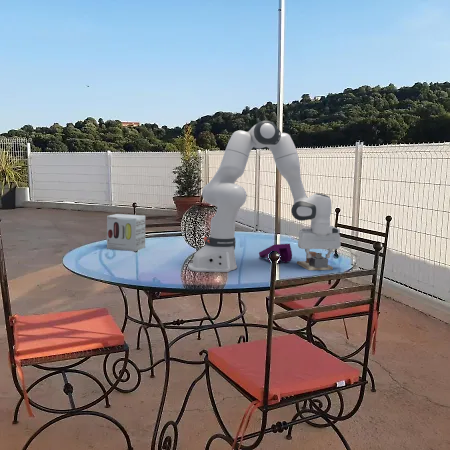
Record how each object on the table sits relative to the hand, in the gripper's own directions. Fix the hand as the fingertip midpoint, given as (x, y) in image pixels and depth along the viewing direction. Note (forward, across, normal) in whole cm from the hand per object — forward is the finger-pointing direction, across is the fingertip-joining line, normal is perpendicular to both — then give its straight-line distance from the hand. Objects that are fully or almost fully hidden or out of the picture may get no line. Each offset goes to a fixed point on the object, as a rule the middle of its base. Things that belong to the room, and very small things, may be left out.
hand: (318, 258), depth 213 cm
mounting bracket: (+6, -15, +21) cm, 26 cm away
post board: (+5, 0, +4) cm, 7 cm away
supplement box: (+6, -86, +59) cm, 105 cm away
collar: (+4, 0, 0) cm, 4 cm away
